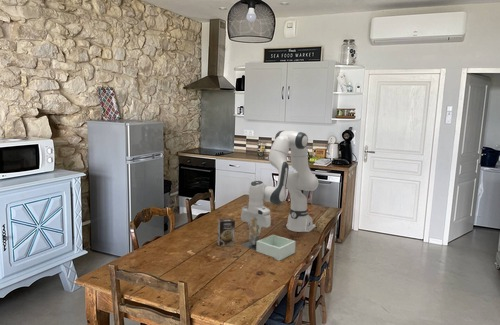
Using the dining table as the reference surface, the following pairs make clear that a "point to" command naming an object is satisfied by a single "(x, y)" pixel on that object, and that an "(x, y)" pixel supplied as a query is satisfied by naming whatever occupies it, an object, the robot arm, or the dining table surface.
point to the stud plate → (249, 245)
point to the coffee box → (226, 232)
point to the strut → (253, 231)
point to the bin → (276, 247)
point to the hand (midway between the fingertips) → (254, 231)
